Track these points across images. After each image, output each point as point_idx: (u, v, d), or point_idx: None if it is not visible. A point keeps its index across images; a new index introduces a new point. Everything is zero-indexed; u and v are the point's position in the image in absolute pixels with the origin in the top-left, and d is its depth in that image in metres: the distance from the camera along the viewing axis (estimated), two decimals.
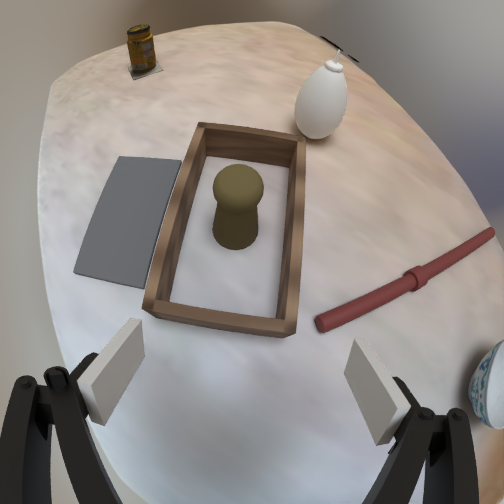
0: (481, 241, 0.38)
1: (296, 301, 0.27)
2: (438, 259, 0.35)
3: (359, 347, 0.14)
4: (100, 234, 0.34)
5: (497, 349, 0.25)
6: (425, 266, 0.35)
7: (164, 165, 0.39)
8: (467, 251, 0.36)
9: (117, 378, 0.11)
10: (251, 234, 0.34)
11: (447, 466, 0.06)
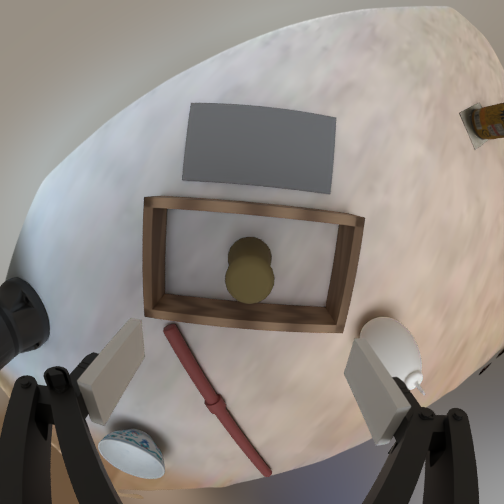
0: (254, 463, 0.46)
1: (167, 318, 0.34)
2: (232, 424, 0.43)
3: (359, 347, 0.14)
4: (232, 121, 0.33)
5: (152, 455, 0.39)
6: (224, 413, 0.42)
7: (323, 175, 0.35)
8: (243, 450, 0.45)
9: (117, 378, 0.11)
10: None
11: (447, 466, 0.06)
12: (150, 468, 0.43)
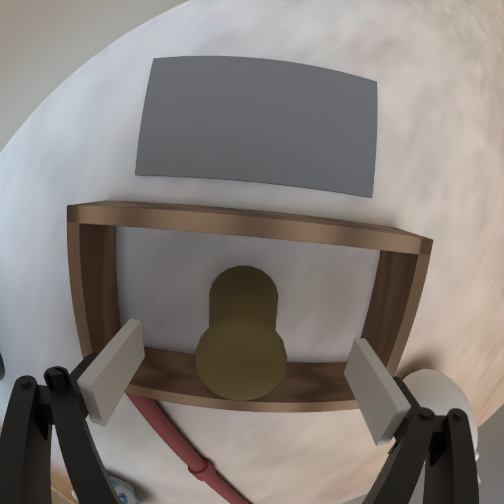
0: None
1: None
2: (224, 488, 0.29)
3: (359, 347, 0.14)
4: (216, 81, 0.19)
5: None
6: (214, 479, 0.28)
7: (361, 168, 0.21)
8: None
9: (117, 378, 0.11)
10: None
11: (447, 466, 0.06)
12: None
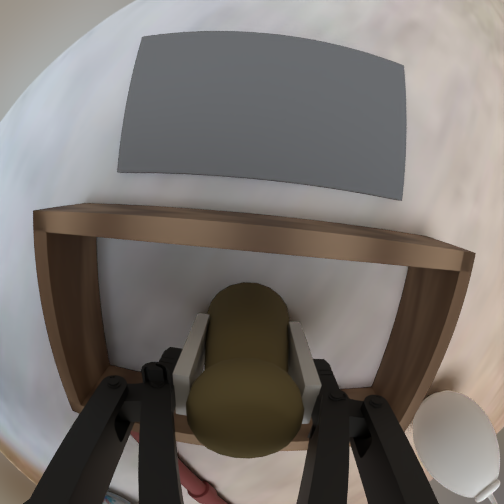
0: None
1: None
2: None
3: (290, 329, 0.16)
4: (215, 58, 0.15)
5: None
6: (215, 501, 0.24)
7: (390, 164, 0.17)
8: None
9: (198, 369, 0.13)
10: None
11: (380, 458, 0.07)
12: None
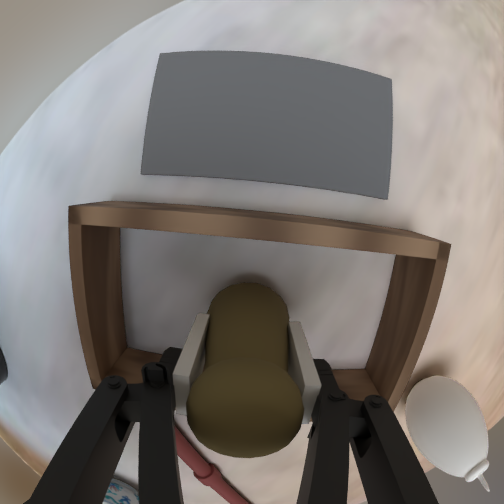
0: None
1: None
2: (229, 493, 0.28)
3: (290, 329, 0.16)
4: (225, 76, 0.18)
5: None
6: (219, 484, 0.27)
7: (377, 168, 0.20)
8: None
9: (198, 369, 0.13)
10: None
11: (380, 458, 0.07)
12: None
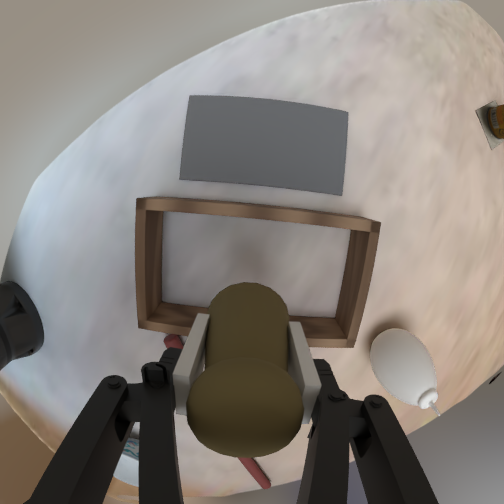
0: (254, 476, 0.42)
1: (162, 330, 0.30)
2: None
3: (290, 329, 0.16)
4: (235, 115, 0.30)
5: None
6: None
7: (334, 175, 0.32)
8: (242, 463, 0.41)
9: (198, 369, 0.13)
10: None
11: (380, 458, 0.07)
12: None
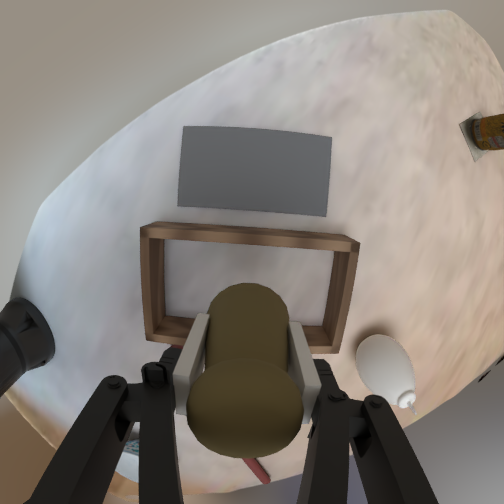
0: (254, 472, 0.46)
1: (167, 342, 0.34)
2: None
3: (290, 329, 0.16)
4: (226, 145, 0.34)
5: None
6: None
7: (319, 198, 0.35)
8: (243, 459, 0.45)
9: (198, 369, 0.13)
10: None
11: (380, 458, 0.07)
12: None
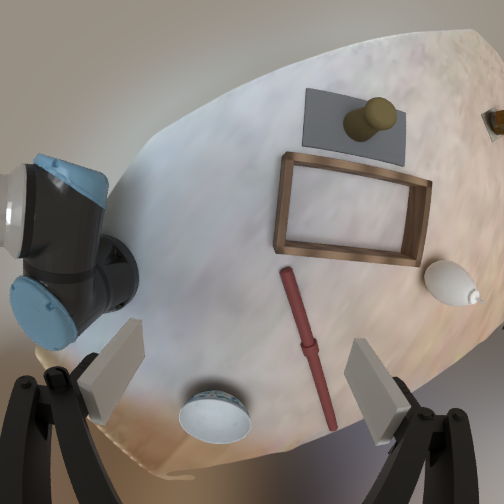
0: (327, 415, 0.54)
1: (296, 254, 0.42)
2: (321, 369, 0.51)
3: (359, 347, 0.14)
4: (339, 106, 0.41)
5: (244, 410, 0.47)
6: (317, 356, 0.50)
7: (399, 152, 0.43)
8: (322, 398, 0.53)
9: (117, 378, 0.11)
10: (354, 133, 0.40)
11: (447, 466, 0.06)
12: (228, 432, 0.52)
